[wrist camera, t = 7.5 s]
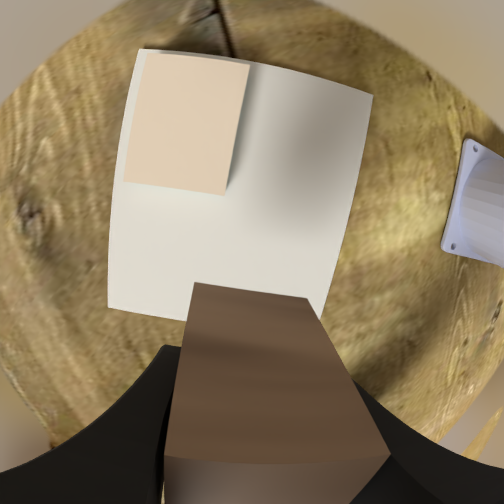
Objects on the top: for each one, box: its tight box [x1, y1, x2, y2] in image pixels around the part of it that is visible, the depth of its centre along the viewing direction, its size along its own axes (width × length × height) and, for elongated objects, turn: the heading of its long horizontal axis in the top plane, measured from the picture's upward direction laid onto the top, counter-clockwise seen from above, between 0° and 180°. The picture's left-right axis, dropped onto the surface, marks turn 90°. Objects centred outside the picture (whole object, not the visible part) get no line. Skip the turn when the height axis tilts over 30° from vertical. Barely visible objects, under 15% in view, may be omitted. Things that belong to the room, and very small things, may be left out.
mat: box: [108, 49, 373, 321], centre depth 16 cm, size 13×15×1 cm
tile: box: [123, 53, 250, 196], centre depth 14 cm, size 5×2×6 cm
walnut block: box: [164, 282, 391, 504], centre depth 8 cm, size 4×4×7 cm
